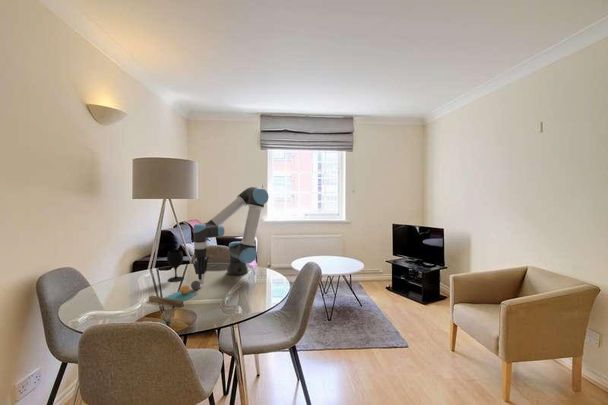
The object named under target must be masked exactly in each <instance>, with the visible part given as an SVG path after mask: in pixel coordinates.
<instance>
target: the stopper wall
mask: <svg viewBox="0 0 608 405" xmlns="http://www.w3.org/2000/svg"><path fill="white" fill-rule="evenodd" d="M148 301H149V302H154V303H158V304H163V305H166V306H173V307H177V308H182V307H184V305H185V304H184V301H183V302H182V301H177V300H173V299H168V298H165V297H162V296H157V295H153V294H151V295H150V296H148Z"/></svg>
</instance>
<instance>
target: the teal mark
mask: <svg viewBox="0 0 608 405" xmlns="http://www.w3.org/2000/svg"><path fill="white" fill-rule="evenodd" d="M197 295H198V293H196V292H191V291H189V293H188V294H186V295H183V294H181V292H180V290H179V291H177V292H174V293H172V294H169V295H168V296H165V297H164V298H168V299H173V300H177V301H182V302H183V303H184V301H187V300H189V299H191V298H192V297H195V296H197Z"/></svg>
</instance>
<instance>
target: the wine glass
mask: <svg viewBox="0 0 608 405" xmlns="http://www.w3.org/2000/svg"><path fill="white" fill-rule="evenodd" d="M166 254H167V255H166V262H167V264H168V265H169V266H170V267H172V268H173V269H174V276H172V277H170V278H168V279H167V281H168V282H169V283H176V282H177V283H178V282H181V281H183V280H185V278H184V276H178V274H177V270H178V268H180V266H181V265H182V264H183V261H184V254H183V250H182V249H181V250H180V249H172V250H169V251H168V252H167V253H166Z"/></svg>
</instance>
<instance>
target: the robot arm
mask: <svg viewBox="0 0 608 405" xmlns="http://www.w3.org/2000/svg"><path fill="white" fill-rule="evenodd" d="M268 201H269V193H268V191H267V190H266V189H265V188H263V187H259V186H255V187H254V186H251V187H247V188H246V189H244V190H243V191H242V192H241V193H239V194H238V195H237V196H236V199H235V200H233V201H232V202H231V203H229V204H227V206H226V207H224V208H223V209H222V210H221V211H219V213H217V214H216V215H215V216H214V217H212V218H211V219H210V220H209V221H207V222H204V223H196V224H194V225H193V231H192V232H193V245H194V246H193V247H194V249H193V252H194V253H193V254H194V260H192V261H191V263H192V264H193V268H194V272H195V275H197V276H198V281H199V282H200V285H204V284H205V274H206V272H207V269H208V263H209V262H208V260H209V258H210V257H209V256H207V251H208V250H207V239H210V238H211V239H213V238H219V237H223V236H224V235H225V227H224V226H223V224H224V223H225V222H227V220H229V219H230V218H231V217H232V216H234V215H235V214H236V213H237V212H239V211H240V210H241V209H242V208H243V207H247V206H248V211H247V216H246V221H245V225H244V230H243V233H242V234H243V235H242V238H241V241H232V242H229V244H228V257H229V258H228V265H227V270H226V274H227V275H230V276H242V275H245V274H247V273H249V270H248V266H247V265H248V264H252V262H255V260H256V259H257V250H256V246H257V245H256V243H255V241H256V240H255V239H256V237H257V236H256V235H257V230H258V226H259V221H260V216H261V210H263V209H264V207H265V204H266V203H268Z"/></svg>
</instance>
